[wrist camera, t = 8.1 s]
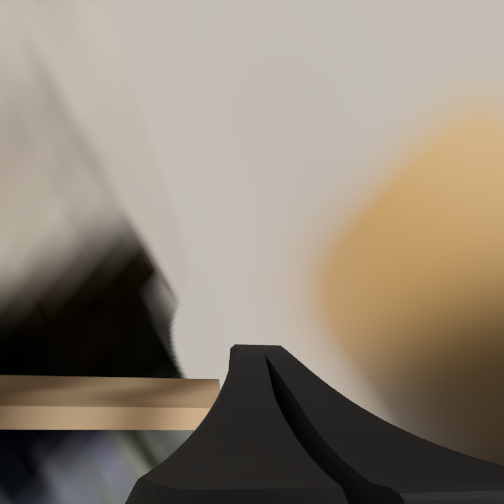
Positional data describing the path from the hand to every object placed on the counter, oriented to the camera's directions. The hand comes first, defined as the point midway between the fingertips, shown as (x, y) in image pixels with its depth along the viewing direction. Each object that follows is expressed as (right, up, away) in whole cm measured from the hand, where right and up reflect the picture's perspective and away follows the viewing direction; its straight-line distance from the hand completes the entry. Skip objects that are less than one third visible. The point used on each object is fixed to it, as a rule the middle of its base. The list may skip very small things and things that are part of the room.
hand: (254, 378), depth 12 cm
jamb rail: (-12, -3, +10) cm, 16 cm away
